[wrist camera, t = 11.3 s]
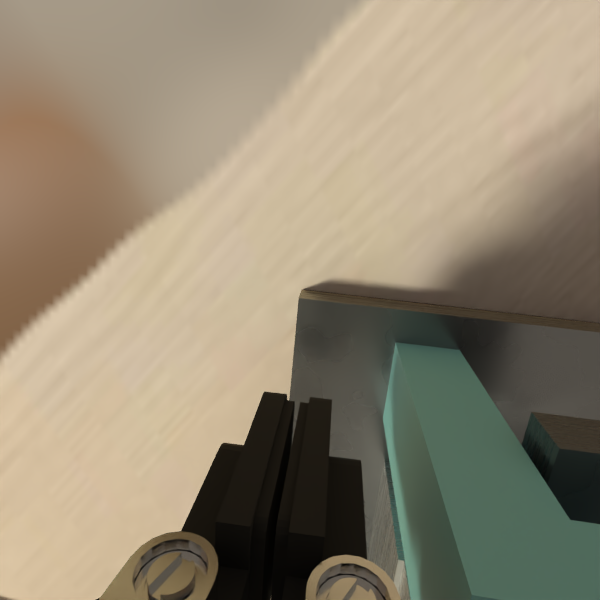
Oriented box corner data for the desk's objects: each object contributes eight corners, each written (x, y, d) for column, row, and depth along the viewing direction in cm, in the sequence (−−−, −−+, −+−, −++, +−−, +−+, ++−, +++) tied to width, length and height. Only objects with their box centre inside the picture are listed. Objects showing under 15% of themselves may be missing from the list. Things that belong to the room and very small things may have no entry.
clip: (535, 438, 14) (796, 804, 6) (383, 418, 14) (431, 736, 6) (558, 361, 13) (900, 664, 5) (395, 342, 13) (471, 595, 5)
